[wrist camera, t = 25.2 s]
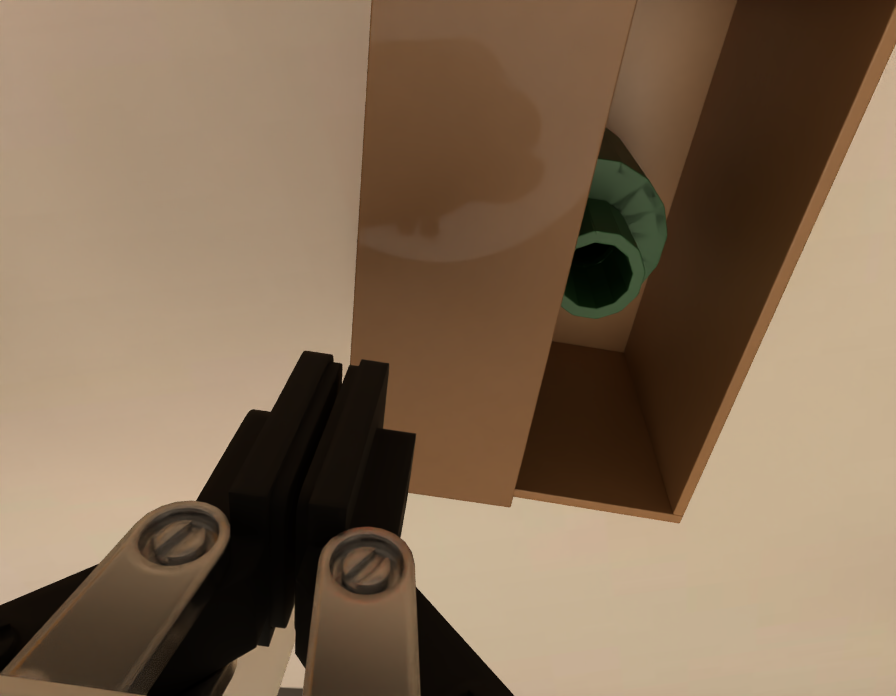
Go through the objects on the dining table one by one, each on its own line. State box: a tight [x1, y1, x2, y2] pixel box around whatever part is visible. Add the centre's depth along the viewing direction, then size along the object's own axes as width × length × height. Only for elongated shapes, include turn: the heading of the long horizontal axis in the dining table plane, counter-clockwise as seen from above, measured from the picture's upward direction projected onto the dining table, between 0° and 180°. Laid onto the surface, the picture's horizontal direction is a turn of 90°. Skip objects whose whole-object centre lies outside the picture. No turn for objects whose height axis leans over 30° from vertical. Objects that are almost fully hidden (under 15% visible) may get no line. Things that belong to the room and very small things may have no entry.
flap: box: [350, 0, 637, 507], centre depth 19 cm, size 6×18×1 cm, turn 172°
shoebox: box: [513, 0, 896, 523], centre depth 24 cm, size 13×18×12 cm
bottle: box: [561, 128, 667, 319], centre depth 25 cm, size 6×6×11 cm
